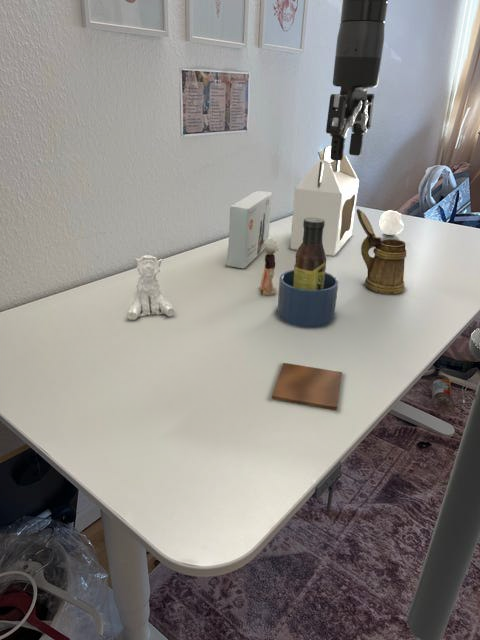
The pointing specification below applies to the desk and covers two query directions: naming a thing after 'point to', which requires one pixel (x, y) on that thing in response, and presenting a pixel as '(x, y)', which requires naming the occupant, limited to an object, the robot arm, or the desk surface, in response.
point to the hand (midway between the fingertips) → (345, 157)
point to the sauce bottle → (310, 257)
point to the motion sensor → (391, 223)
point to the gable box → (326, 201)
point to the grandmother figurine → (269, 267)
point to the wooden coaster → (308, 386)
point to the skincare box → (248, 228)
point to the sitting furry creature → (148, 290)
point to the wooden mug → (382, 260)
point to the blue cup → (306, 302)
